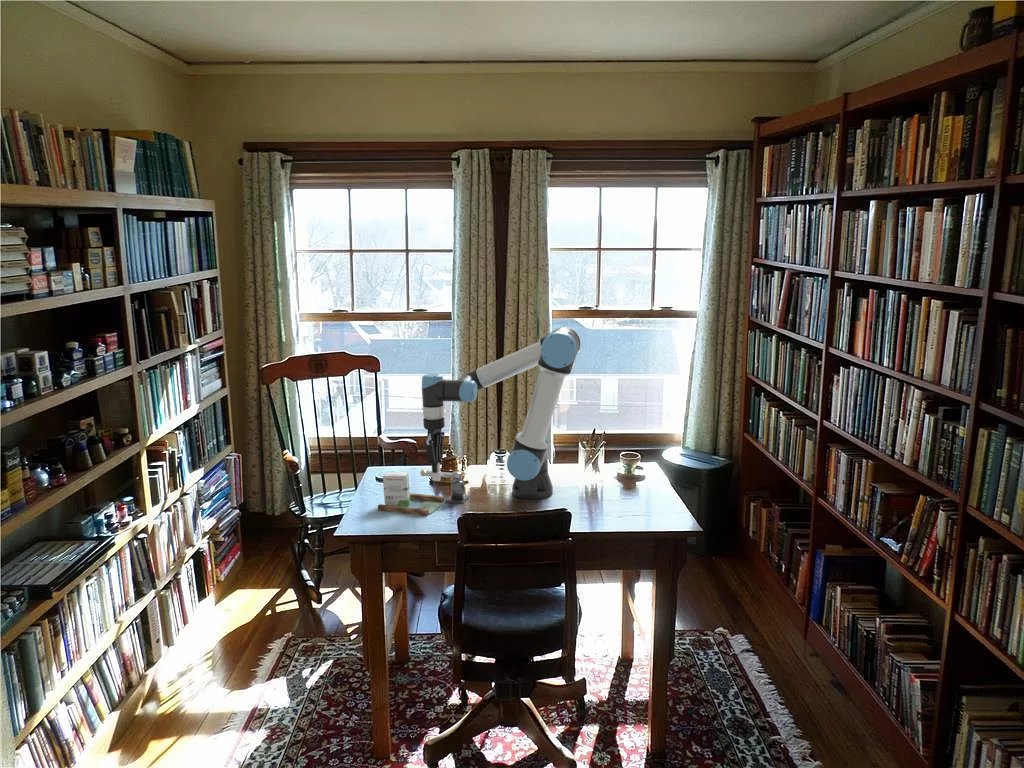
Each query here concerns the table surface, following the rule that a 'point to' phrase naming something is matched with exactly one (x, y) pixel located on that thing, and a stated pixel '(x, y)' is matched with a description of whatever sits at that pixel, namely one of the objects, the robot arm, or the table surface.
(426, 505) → the front pad
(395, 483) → the ink box
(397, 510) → the rails
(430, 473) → the crank
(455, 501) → the winch drum
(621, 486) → the table surface
